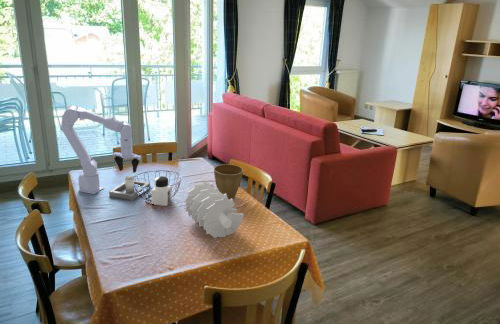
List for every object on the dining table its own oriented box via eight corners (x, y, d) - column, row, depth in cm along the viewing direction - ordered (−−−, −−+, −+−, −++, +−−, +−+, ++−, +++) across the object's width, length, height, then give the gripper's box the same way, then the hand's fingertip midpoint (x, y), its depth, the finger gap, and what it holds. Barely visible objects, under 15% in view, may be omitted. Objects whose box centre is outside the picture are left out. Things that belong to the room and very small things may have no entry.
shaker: (124, 192, 193) (123, 177, 191) (128, 189, 197) (128, 174, 195) (131, 193, 192) (130, 179, 190) (136, 190, 196) (135, 176, 194)
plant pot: (229, 206, 186) (230, 177, 181) (207, 197, 194) (207, 168, 189) (247, 197, 198) (249, 169, 192) (225, 189, 206) (227, 161, 200)
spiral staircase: (216, 251, 157) (190, 222, 176) (250, 226, 163) (221, 200, 181) (201, 221, 146) (175, 194, 165) (237, 196, 152) (208, 172, 171)
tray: (109, 196, 189) (109, 191, 188) (128, 184, 204) (128, 179, 203) (132, 201, 186) (132, 195, 185) (150, 188, 201) (149, 182, 200)
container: (171, 199, 190) (171, 175, 186) (167, 206, 183) (166, 181, 179) (156, 198, 191) (156, 174, 186) (151, 204, 184) (150, 180, 179)
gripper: (109, 147, 190) (111, 171, 195) (135, 150, 188) (137, 175, 193) (116, 143, 197) (118, 167, 202) (142, 146, 194) (143, 170, 199)
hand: (128, 171), depth 197 cm, fingers open, 7 cm apart
